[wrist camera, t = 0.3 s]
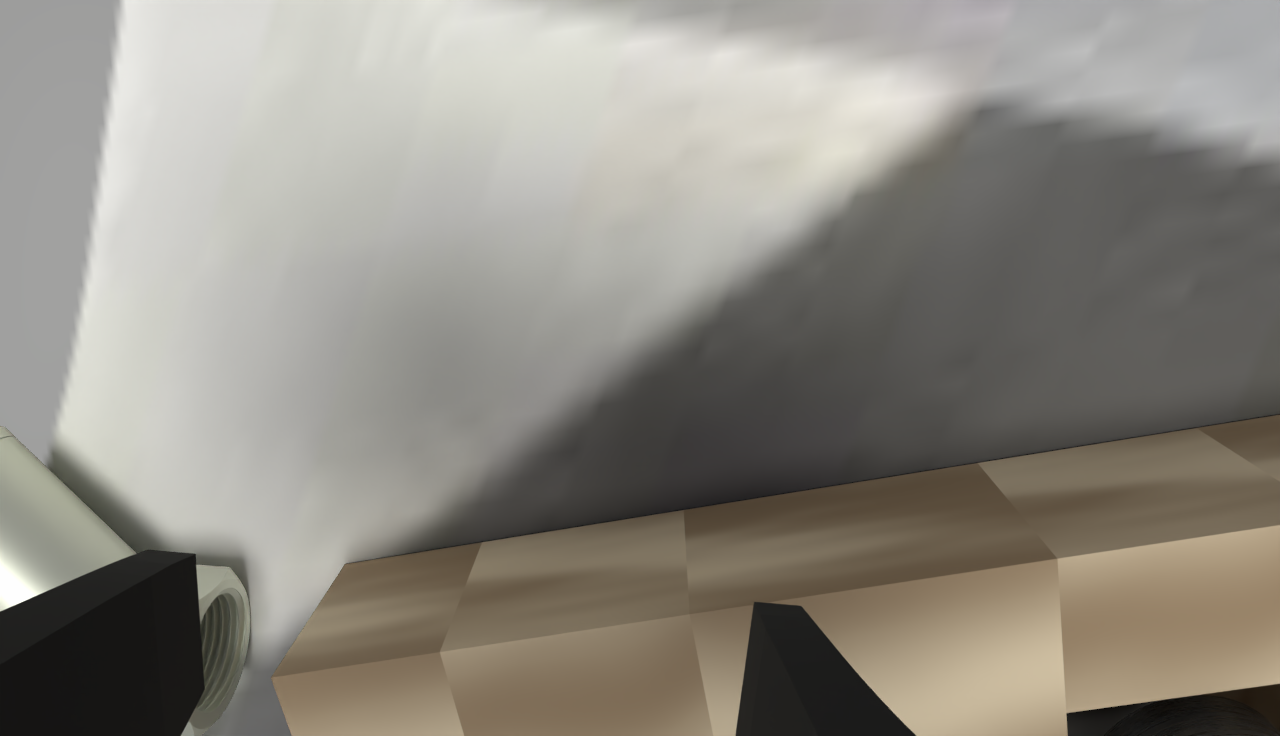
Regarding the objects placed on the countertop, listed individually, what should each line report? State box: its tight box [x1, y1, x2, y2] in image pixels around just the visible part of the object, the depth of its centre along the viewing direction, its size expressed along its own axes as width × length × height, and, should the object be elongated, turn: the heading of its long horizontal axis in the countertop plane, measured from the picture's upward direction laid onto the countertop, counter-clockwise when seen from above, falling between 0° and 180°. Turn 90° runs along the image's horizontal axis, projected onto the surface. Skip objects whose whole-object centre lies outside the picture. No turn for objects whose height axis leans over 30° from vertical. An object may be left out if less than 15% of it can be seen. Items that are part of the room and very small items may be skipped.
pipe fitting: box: [0, 426, 250, 736], centre depth 21 cm, size 8×4×7 cm
